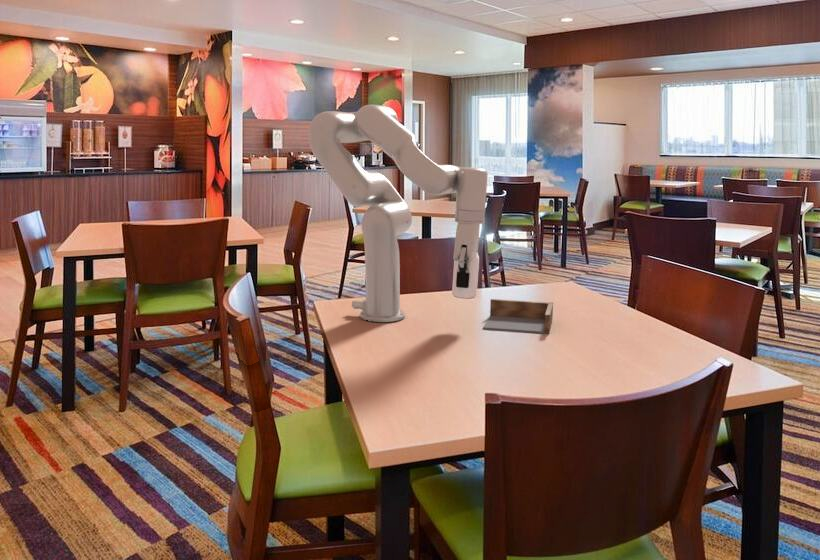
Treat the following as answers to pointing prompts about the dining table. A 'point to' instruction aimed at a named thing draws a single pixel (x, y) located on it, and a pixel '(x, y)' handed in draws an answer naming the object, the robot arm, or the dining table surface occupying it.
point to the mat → (515, 324)
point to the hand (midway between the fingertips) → (464, 283)
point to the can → (473, 279)
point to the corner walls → (523, 310)
